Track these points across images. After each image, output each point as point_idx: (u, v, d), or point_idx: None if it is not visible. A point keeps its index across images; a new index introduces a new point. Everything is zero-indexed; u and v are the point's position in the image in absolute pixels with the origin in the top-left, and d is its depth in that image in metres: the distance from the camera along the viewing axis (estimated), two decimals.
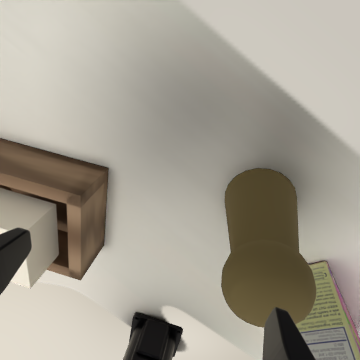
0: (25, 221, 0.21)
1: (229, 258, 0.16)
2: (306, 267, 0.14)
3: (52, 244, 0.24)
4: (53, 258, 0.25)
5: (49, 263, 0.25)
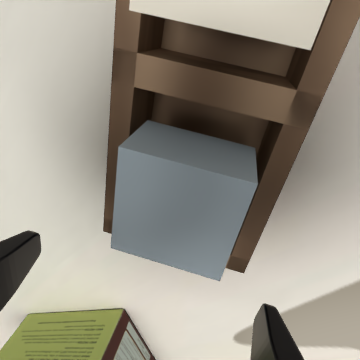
0: None
1: None
2: None
3: None
4: None
5: None
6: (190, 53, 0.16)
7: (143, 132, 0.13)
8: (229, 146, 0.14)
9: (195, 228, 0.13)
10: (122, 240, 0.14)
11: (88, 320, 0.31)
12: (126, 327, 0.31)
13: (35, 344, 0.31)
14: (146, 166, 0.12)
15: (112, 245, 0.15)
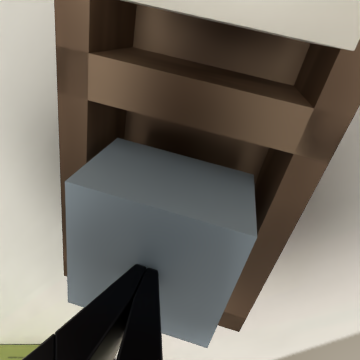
0: None
1: None
2: None
3: None
4: None
5: None
6: (170, 54, 0.13)
7: (107, 156, 0.10)
8: (220, 174, 0.11)
9: (173, 287, 0.10)
10: (81, 295, 0.11)
11: None
12: None
13: None
14: (104, 207, 0.09)
15: (69, 299, 0.11)
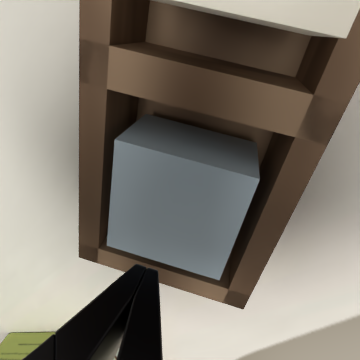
0: None
1: None
2: None
3: None
4: None
5: None
6: (180, 48, 0.14)
7: (141, 125, 0.13)
8: (230, 141, 0.13)
9: (194, 226, 0.12)
10: (118, 238, 0.14)
11: None
12: None
13: None
14: (144, 160, 0.11)
15: (108, 243, 0.14)
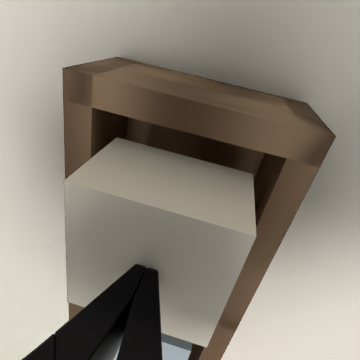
0: None
1: None
2: None
3: (201, 169, 0.11)
4: (247, 181, 0.11)
5: (246, 189, 0.10)
6: None
7: None
8: None
9: None
10: None
11: None
12: None
13: None
14: None
15: None
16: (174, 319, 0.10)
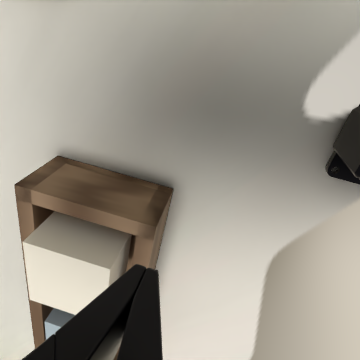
0: None
1: None
2: None
3: (101, 228, 0.20)
4: (125, 235, 0.20)
5: (121, 241, 0.19)
6: None
7: None
8: None
9: None
10: None
11: None
12: None
13: None
14: None
15: None
16: None
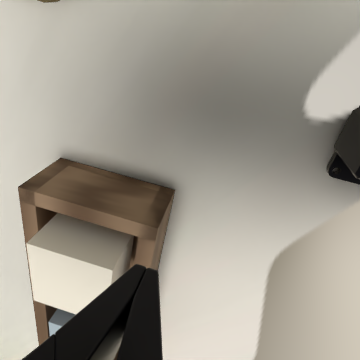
0: None
1: None
2: None
3: (104, 230, 0.20)
4: (128, 236, 0.20)
5: (123, 242, 0.20)
6: None
7: None
8: None
9: None
10: None
11: None
12: None
13: None
14: None
15: None
16: None
